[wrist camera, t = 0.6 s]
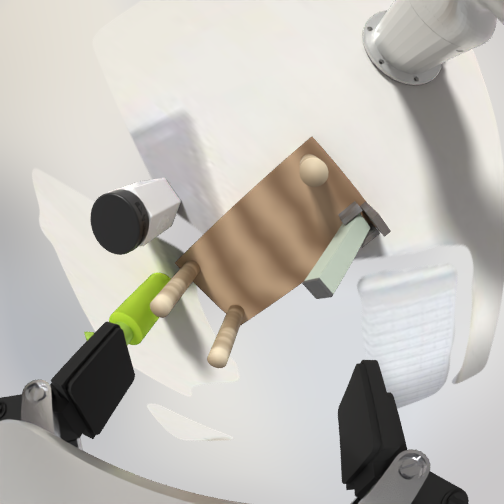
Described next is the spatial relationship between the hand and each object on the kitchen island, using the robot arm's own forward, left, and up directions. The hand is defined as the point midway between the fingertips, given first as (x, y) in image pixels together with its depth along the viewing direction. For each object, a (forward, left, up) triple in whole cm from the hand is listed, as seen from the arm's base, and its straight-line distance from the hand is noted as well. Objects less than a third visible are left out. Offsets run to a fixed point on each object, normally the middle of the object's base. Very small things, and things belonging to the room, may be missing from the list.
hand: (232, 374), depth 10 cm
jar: (+15, -13, -32) cm, 38 cm away
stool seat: (+5, +3, -32) cm, 32 cm away
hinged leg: (-2, +8, -25) cm, 26 cm away
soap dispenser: (+26, -3, -32) cm, 41 cm away
